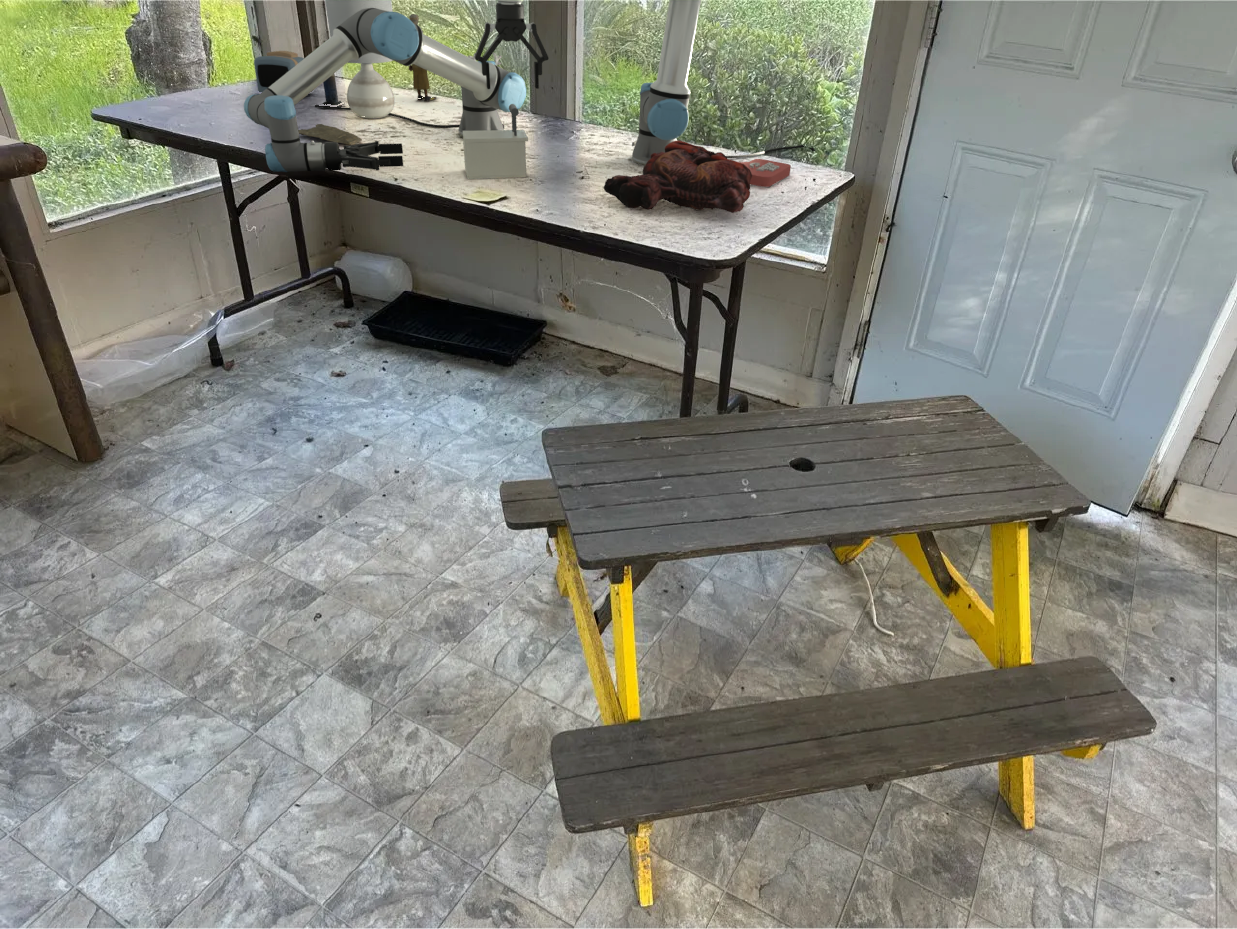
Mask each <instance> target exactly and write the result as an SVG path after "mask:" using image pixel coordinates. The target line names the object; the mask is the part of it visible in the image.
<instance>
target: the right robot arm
mask: <svg viewBox="0 0 1237 929" xmlns="http://www.w3.org/2000/svg"><path fill="white" fill-rule="evenodd" d="M495 1H496V2H497V3H496V4H495V23H490V22H488V21H485V23H484V31H483V34H482V37H481V39H480V41H479V44H478V46H477V49H476V51H475V53H476V54H475V59H476V61H480V62H481V64H482V74H483V76H486V82H487V89H490V72H489V63H488V62H487V61H489V59H490V58H491V57H492V56H493V52H494V53H495V51H496V49H497V48H498V47H499V45H500V44H501V43H502V42H503V41H504V42H506V43H507V42H515V43H516V42H519V41H521V43H522V44H523V45H524V46H525V47H526V48H527V50H528V51H529V52H530V54H531V55H532V56H533V58H534V59H535V60H536V61H533V63H534V64H533V65H534V66H533V70H534V71H533V72H534V73H533V74H534V88H535V89H538V90H539V89H540V84H539V81H540V80H539V77H540V76H542V75H543V62H545V61H548V60H549V55H548V53H547V51H546V49H545V47H544V44H543V43H542V40H541V38H540V37H539V34H538V30H537V24H536V23H535V22H534V21H532V22H530V23H526V22H525V5H524V4H523V2H524V1H525V0H495ZM701 2H702V0H668V6H667V12H666V19H665V24H664V31H663V39H662V44H661V51H660V57H659V62H658V63H659V64H658V69H657V70H658V71H657V75H656V76H657V77H656V80H654V81H653V82H644V83H642V84H641V85H640V91H639V96H640V98H639V120H638V135H637V138H636V140H635V141H633V142H632V143H631V147H633V150H632V154H631V161H632V162H633V163H634V164H635V165H638V166H643V167H645V165H646V163H647V162H648V160H650V159H651V158H650V157H651V155H652V154H653V153H657V152H658V153H660V152H664V153H665V147H666V146H667V145H668V144H669V143H671V142H673V141H677V140H678V139H677V138H679V137H680V136H682V135H683V134H684V132H685V131H686V130H687V128H688V126H689V122H690V121H689V120H690V118H689V117H690V115H689V114H690V113H689V110H688V109H689V102H690V97H691V90H690V89H689V87H688V85H687V82H688V78H689V72H690V65H691V60H692V54H693V49H694V43H695V37H696V32H697V26H698V21H699V20H698V19H699V15H700V8H701ZM494 29H495V31H496V33H498V34H497V35H496V37H495V39H494V40H493V41H492V43H491V44H490V45H489V47H488V48H487V49H486V51H485V52H484V49H485V47H486V45H487V42H488V39H489V37H490V34H491V33H492V32H493V30H494ZM527 30H528V32H529V33H531V35H532V36H533V39H534V41H535V44H536V45H537V47H538V49H539V51H540V54H541V55H539V54H538V53H537V51H536V50H535V48H534V47H533V46H532V45H531V44H530V42H529V41H528V40H527V38H526V36H524V33H525V32H526V31H527ZM483 52H484V54H483ZM482 54H483V55H482ZM803 145H804V144H800V145H799V144H798V145H793V146H782V147H776V148H771V149H766V150H763V151H758V152H754V153H749V154H741V155H739V154H738V155H725V156H726V158H727V159H741V158H742V159H743V158H750V157H754V156H759V155H765V154H768V153H772V152H777V151H782V150H794V149H800V148H805V147H804V146H803ZM809 149H810V150H811V151H812V152H816V149H815V148H814V147H812V148H809Z"/></svg>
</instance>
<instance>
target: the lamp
mask: <svg viewBox="0 0 1237 929" xmlns="http://www.w3.org/2000/svg"><path fill="white" fill-rule="evenodd" d="M324 3H325V9H326V18H327V23H328V30H329V38H331V37H332V36H333V30H334V29H335V28H336V27H338V26H339V25H340V24H341V23H343V22H344V21H345V20H347V19H348V18H349V17H351V16H352V15H353V14H355V13H356V12H358V11H360V10H362V9H366V8H377V9H380V10H385V11H390V12H394V11H393V2H392V0H324ZM390 62H393V60H391V59H389V58H387V57H384V56H382V55H379V54H375V53H368V54H365V55H363V56H361V57H360V58H359V59H358V60H353V59H351V60H350V61H349V62H348V63H347V64H360V70H358V71H357V72H356V74H354V76H353V77H352V79H351V80H350V82H349V84H348V87H347V92H346V101H347V104H348V107H349V108H350V109H351V110H350V111H351V112H352V113H354V115H356V116H358V117H360V118H362V119H368V120H369V119H370V120H371V119H372V120H375V119H382V118H385V117H387V116H389V115H388V114H389V113H392V111H393V110H394V107H395V103H396V102H395V95H394V91H393V89H392V87H391V85H390V83H389V82H388V81H387V80H386V79H385V78H384V77H383V75H381V74H380V73H379V72H378V71H376V70H375V68H374V67H373V64H382V63H390ZM361 116H365V117H361Z"/></svg>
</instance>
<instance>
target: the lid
mask: <svg viewBox="0 0 1237 929" xmlns="http://www.w3.org/2000/svg"><path fill="white" fill-rule="evenodd" d="M509 110H510V112H509V113H510V114H511V129H504V130H484V131H463V137H464V140H465V143H469V142H518V141H525V142H529V137H528V135H527V133H526V131H525V129H517V116H519V113H520V112H519V111H520V110H519V109H517V107H516V106H515V105H514V104H511V105H510V106H509Z"/></svg>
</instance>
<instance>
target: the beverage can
mask: <svg viewBox="0 0 1237 929" xmlns="http://www.w3.org/2000/svg"><path fill="white" fill-rule="evenodd" d="M322 85H323V91H324V97H325V101H323V102H322V103H321V104H324V105H325V104H326V105H327V104H331V105H338V104H340V103H342V102H344V104H342V105H339V106H337V107H342V106H344V105H345V101H342V100H339V97H338V95H339V94H338V88H337V82H336V74H335V73H334V74H333V75H332V76H330V77H329V78H328V79H327V80H325V81H324V82H323V83H322ZM320 107H321V109H326V108H325V107H326V106H324V107H323V106H320ZM328 107H329V106H328ZM330 108H333V107H330ZM330 108H329V109H330Z"/></svg>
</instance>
